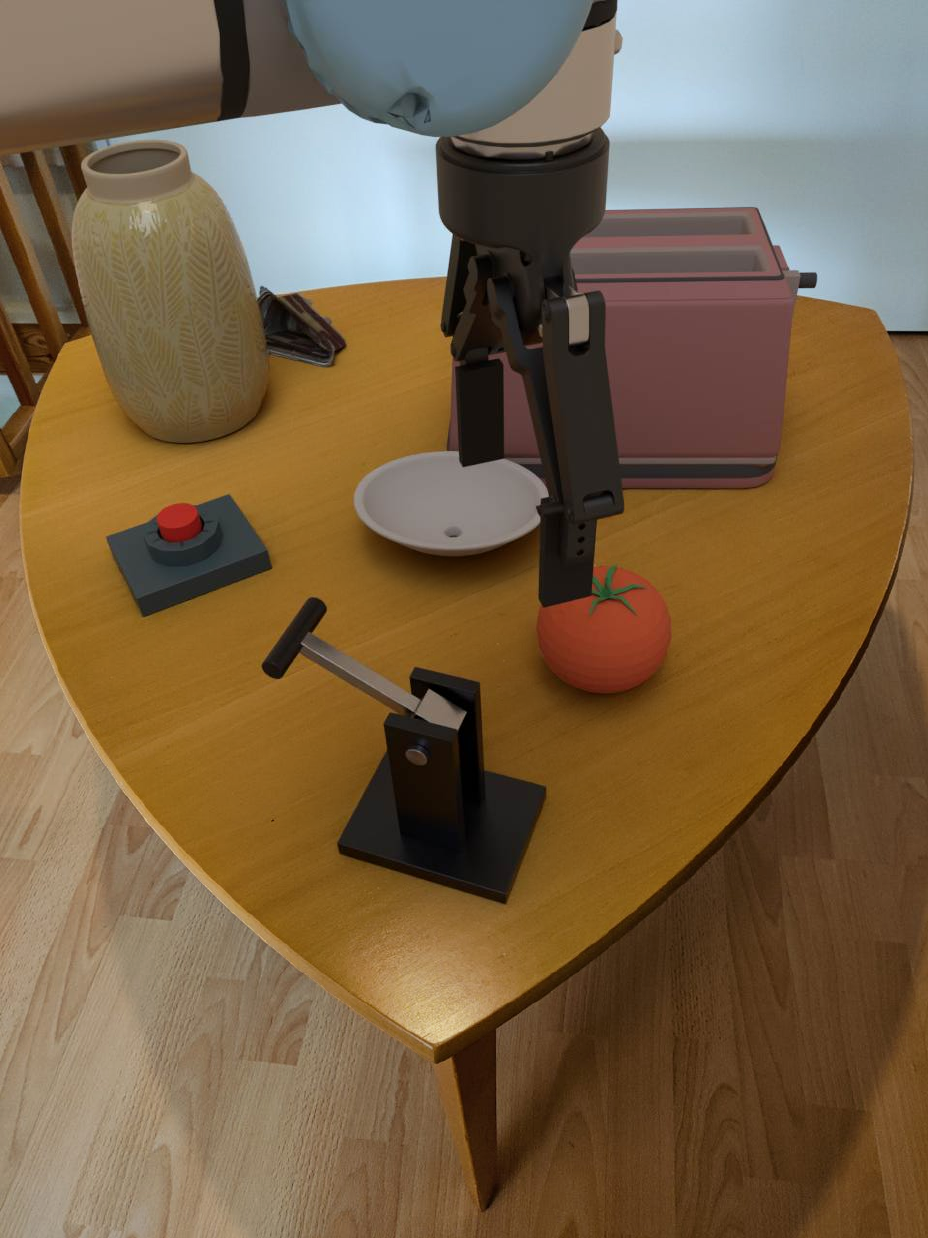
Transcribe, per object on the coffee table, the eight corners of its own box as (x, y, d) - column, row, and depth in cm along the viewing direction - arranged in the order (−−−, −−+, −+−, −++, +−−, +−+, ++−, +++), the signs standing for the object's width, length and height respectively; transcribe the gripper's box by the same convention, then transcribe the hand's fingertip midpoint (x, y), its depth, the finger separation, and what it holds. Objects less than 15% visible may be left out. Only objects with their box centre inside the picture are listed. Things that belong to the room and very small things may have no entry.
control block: (143, 617, 86) (130, 582, 83) (112, 554, 93) (99, 520, 90) (272, 568, 90) (264, 533, 87) (234, 511, 97) (225, 477, 94)
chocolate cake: (371, 345, 120) (315, 259, 119) (338, 356, 115) (279, 266, 113) (322, 387, 126) (268, 306, 125) (289, 399, 120) (232, 314, 119)
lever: (256, 674, 60) (266, 654, 58) (302, 609, 64) (312, 588, 62) (428, 778, 61) (443, 761, 59) (462, 707, 65) (477, 689, 63)
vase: (306, 416, 109) (260, 158, 90) (158, 474, 102) (76, 208, 83) (236, 355, 119) (182, 113, 100) (98, 405, 112) (12, 155, 94)
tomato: (681, 646, 81) (695, 551, 74) (643, 736, 74) (655, 641, 67) (562, 614, 84) (565, 520, 77) (515, 697, 77) (514, 603, 71)
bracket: (338, 854, 68) (310, 732, 59) (391, 755, 74) (372, 631, 65) (506, 905, 64) (502, 784, 56) (546, 797, 70) (549, 672, 62)
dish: (338, 580, 88) (331, 536, 85) (383, 485, 99) (378, 442, 95) (534, 603, 85) (534, 559, 82) (560, 503, 95) (561, 459, 92)
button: (168, 548, 87) (163, 532, 86) (156, 526, 89) (151, 511, 88) (207, 534, 88) (203, 518, 87) (194, 513, 91) (190, 498, 89)
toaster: (800, 491, 95) (847, 286, 81) (445, 490, 97) (431, 292, 83) (768, 386, 109) (803, 196, 95) (458, 388, 111) (448, 204, 97)
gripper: (749, 221, 35) (679, 652, 49) (506, 47, 52) (507, 403, 67) (547, 255, 33) (537, 690, 48) (366, 64, 51) (399, 425, 65)
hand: (519, 523), depth 57 cm, fingers open, 13 cm apart
